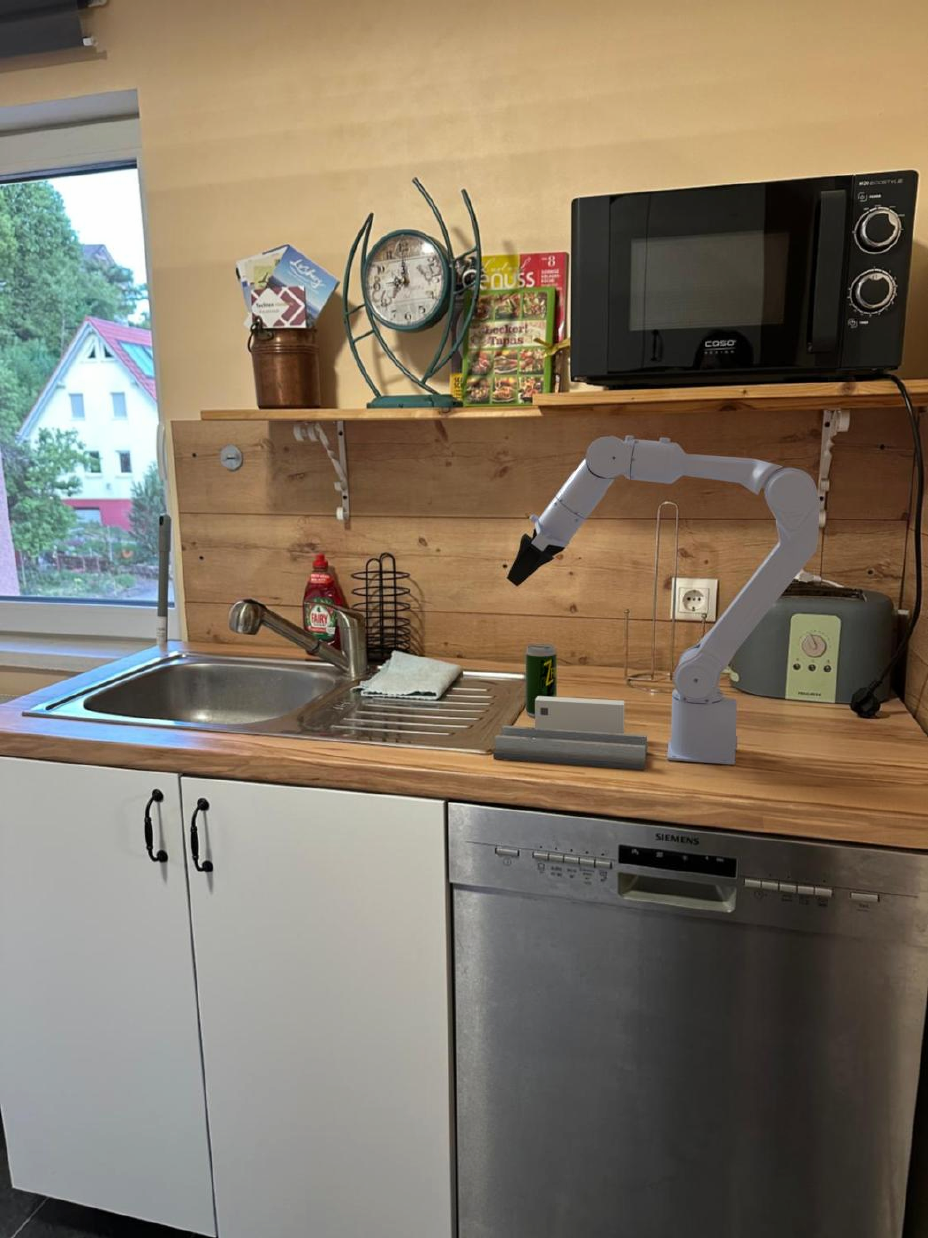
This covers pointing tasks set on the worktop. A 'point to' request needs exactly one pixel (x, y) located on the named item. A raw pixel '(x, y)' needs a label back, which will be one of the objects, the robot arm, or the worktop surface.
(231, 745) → the worktop surface
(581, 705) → the door panel
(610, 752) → the track
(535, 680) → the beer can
